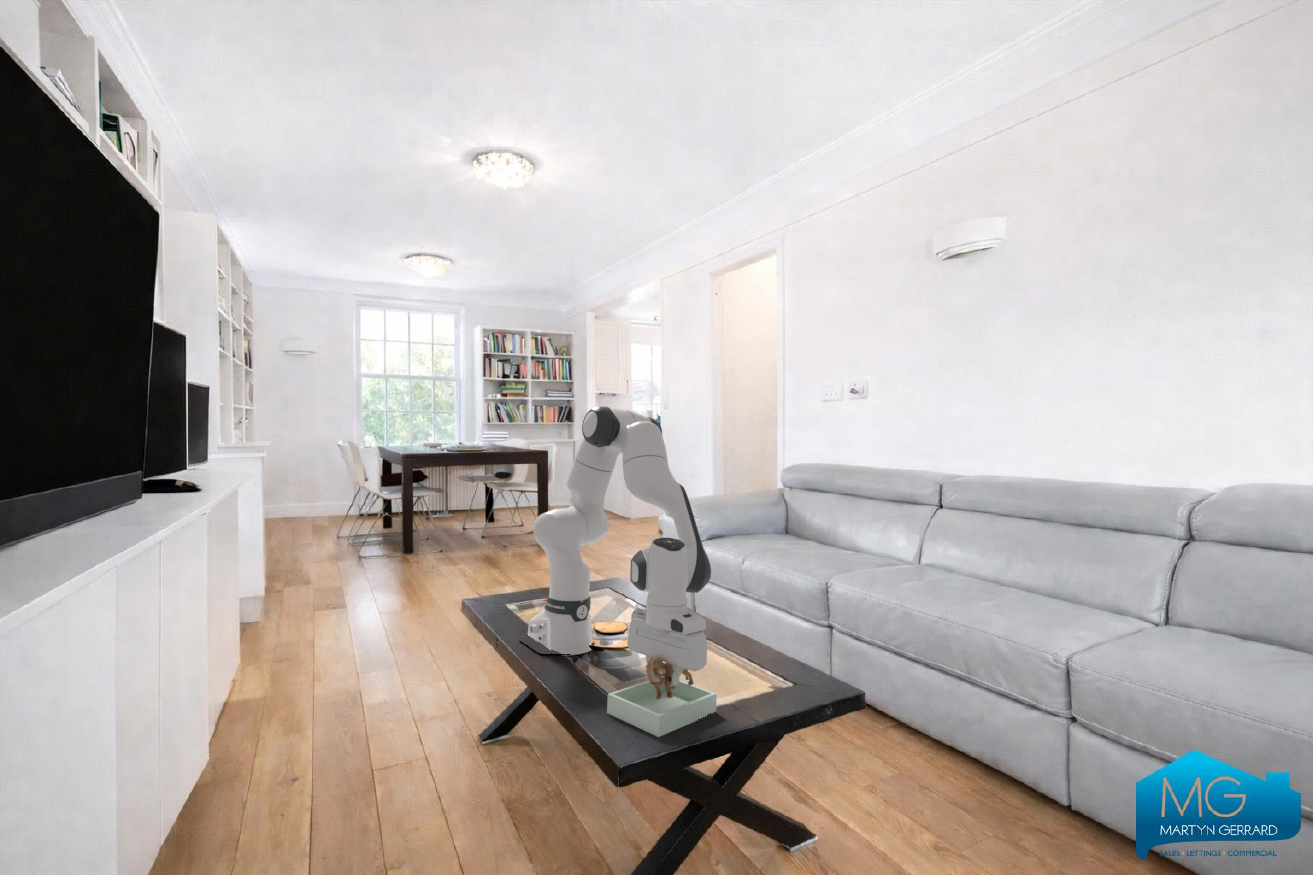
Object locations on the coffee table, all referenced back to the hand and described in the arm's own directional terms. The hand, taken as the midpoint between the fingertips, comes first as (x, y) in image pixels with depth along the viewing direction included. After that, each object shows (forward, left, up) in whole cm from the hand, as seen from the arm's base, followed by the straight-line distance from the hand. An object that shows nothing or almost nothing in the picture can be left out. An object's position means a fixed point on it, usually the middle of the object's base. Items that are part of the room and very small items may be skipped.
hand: (664, 680), depth 135 cm
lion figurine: (+1, +2, -3) cm, 4 cm away
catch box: (0, 0, -7) cm, 7 cm away
